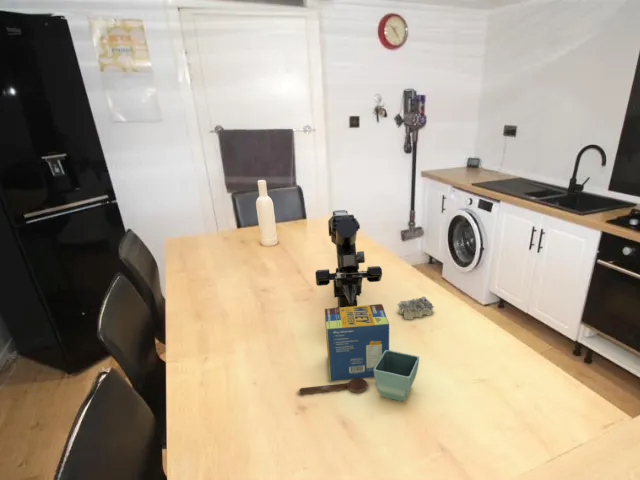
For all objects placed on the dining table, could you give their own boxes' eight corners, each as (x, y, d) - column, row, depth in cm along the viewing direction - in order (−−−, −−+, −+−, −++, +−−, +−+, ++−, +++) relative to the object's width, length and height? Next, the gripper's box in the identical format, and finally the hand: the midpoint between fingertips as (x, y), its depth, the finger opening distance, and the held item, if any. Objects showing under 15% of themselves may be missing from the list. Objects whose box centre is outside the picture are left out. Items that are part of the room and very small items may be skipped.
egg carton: (405, 321, 130) (405, 309, 128) (396, 310, 136) (396, 299, 135) (435, 314, 134) (435, 303, 132) (424, 304, 140) (425, 294, 138)
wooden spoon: (299, 399, 97) (298, 395, 96) (299, 387, 101) (299, 382, 100) (368, 392, 99) (368, 387, 99) (365, 380, 103) (365, 375, 103)
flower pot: (418, 386, 101) (420, 355, 97) (409, 409, 94) (410, 377, 90) (385, 378, 104) (385, 349, 100) (373, 401, 96) (372, 369, 92)
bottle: (275, 246, 195) (267, 182, 182) (259, 246, 195) (250, 182, 182) (279, 240, 202) (272, 178, 189) (263, 240, 202) (255, 178, 189)
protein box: (327, 358, 112) (324, 308, 105) (383, 352, 114) (382, 303, 108) (329, 381, 103) (325, 328, 96) (389, 375, 105) (390, 323, 98)
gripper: (313, 243, 111) (316, 297, 105) (381, 239, 113) (387, 292, 108) (314, 259, 121) (318, 310, 116) (377, 256, 124) (383, 304, 119)
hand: (351, 304), depth 114 cm, fingers closed
